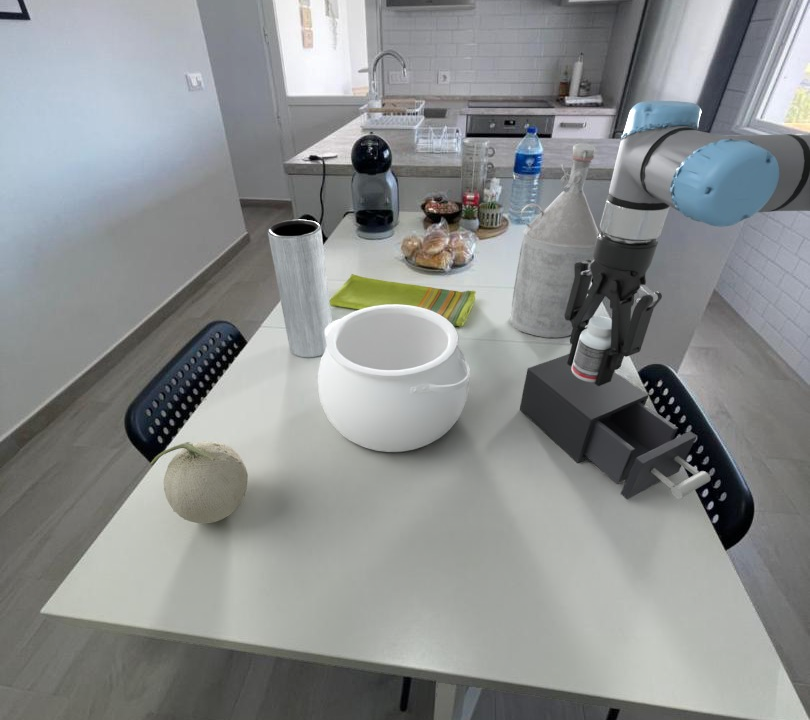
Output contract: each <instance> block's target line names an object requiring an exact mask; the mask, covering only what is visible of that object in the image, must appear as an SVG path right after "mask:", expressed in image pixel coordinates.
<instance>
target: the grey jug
mask: <svg viewBox="0 0 810 720" xmlns="http://www.w3.org/2000/svg"><path fill="white" fill-rule="evenodd" d="M595 152H596V147H595V146H593V145H592V144H587V143H576V144H574V145H573V146H572V155H571V168H570V173H569V171H567V170H566V169H565V165H564V164H563V163H561V164H560V167H561V170H562V171H563V174H564V175H563V176H562V177H561V178H560V181H559V182H560V184H561V186H562V187H563V188H562V191H561V193H560V194H559V195H557V196H556V198H554V200H553V201H552V202H551V203H550V204H549V205H548V206H547V207H546V208H545V209H544V210H542V208H541V206H540V205H539V204H538V203H536V202H535V203H534V202H531V203H528V204H526V205H525V206H524V207H522V209H521V211H520V216H523V213H524V211H525V210H526V209H528V208H529V207H535V208H537V209H538V210H539V211H540V212H539V214H538V215H537V216H536V218H535V219H534V220H533V221H532V222H530V223H527V222H525V221H524V220H523V219H522V217H520V222H521V223H523V224H524V225H525V226H526V228H525V229H524V230H523V233H522V234H523V236H522V241H521V247H520V251H519V257H518V264H517V269H516V275H515V281H514V286H513V294H512V302H511V309H510V316H509V322H510V323H511V325H512V326H513V327H514V328H515V329H517V330H518V331H520V332H523V333H524V334H527V335H528V334H529V335H531V336H536V337H542V338H546V339H548V338H549V339H550V338H556V339H558V338H565V337H569V336H571V333H572V329H573V327H572V323H571V322H570V321H569V320H568V321H567V320H566V319H565V317H564V316H565V312H566V308H567V304H568V300H569V297H570V293H571V289H572V285H573V282H574V278H575V271H574V266H575V263H578V262H582V261H586V260H591V261H593V260H594V258H593V252H594V248H595V244H596V240H597V236H598V234H599V233H600V231H599V229H598V226H597V224H596V221H595V219H594V216H593V214H592V211H591V208H590V205H589V202H588V200H587V197H586V194H585V192H584V185H585V182H586V179H587V175H588V172H589V168H590V165H591V163H592V160H594V158H595V155H594V154H595ZM566 171H567V172H566ZM565 184H566V185H565ZM592 280H593V277H592V278H591V282H590V286H589V289H590V287H591V285H592ZM589 289H588V290H589ZM587 296H588V294H587ZM587 296H586V298H587Z"/></svg>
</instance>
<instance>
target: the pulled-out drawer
mask: <svg viewBox="0 0 810 720" xmlns="http://www.w3.org/2000/svg"><path fill="white" fill-rule="evenodd" d="M678 429H679V427H677V426H676V425H674V424H673V423H672V422H670V421H669V420H668V419H666V418H664V417H663V416H661V415H660V414H659V413H658V412H656V411H655V410H653V409H652V408H650V407H649V406H647V405H646V404H645V405H644V404H643V403H641V402H638V403H636V404H634V405H631V406H629V407H627V408H624V409H622V410H620V411H617V412H615V413H613V414H611V415H608V416H606V417H604V418H601V419H599V420H597V421H595V422H594V423H593V426H592V429H591V432H590V435H589V438H588V441H587V444H586V447H585V450H584V453H583V454H584V455H585V456H586V457H587V459H588V460H590V461H591V462H592V463H593V464H594V465H595V466H596V467H597V468H599V469H600V470H601V471H602V473H604V474H605V475H606V476H607V477H608V478H609V479H610V480H612V481H613V482H614V483H615V484H616V485H619V484H621V483H622V482H625V483H624V485H623V487H622V490H621V492H620V495H621V496H622V497H623V498H624V499H626V500H629V499H632V498H633V497H635V496H636V495H639V494H640V493H643V492H644V491H646V490H648V489H650V488H651V487H653V486H655V485H656V484H658V483H661V482H662V483H663V484H665V485H666V486H667V487H668V488H669V489H670V492H671V494H672V495H673V496H674V498H676V499H682V498H683V497H685V496H687V495H689V494H690V493H692V492H694V491H696V490H697V489H700V487H702V486H704V485H706V484H707V483H709V482H710V481H711V475H710V474H709V472H706V471H704V470H701V471H699V470H698V469H697V468H695V467H694V466H692V464H689V463H688V462H687V461H686V458H687V456H688V455H689V453H690V451H691V450H692V449H691V448H692V447H693V445H694V443H695V441H696V439H697V437H698V436H697V435H696V434H695V433H693V432H692V431H690V430H689V431H687V432H685V433H683V434H681V435H679V436H677V437H675V436H676V434H677V431H678ZM682 467H683V468H684V469H686V470H687V471H688V472H689V473H690V474H692V476H690V477H688V478H686V479H684V480H682V481H680V482H679V483H676V484H675V483H674V482H673V481H671V480H670V479H669V477H671V476H673V475H675V474H677V473H678V472H680V469H681V468H682Z"/></svg>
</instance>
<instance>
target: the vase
mask: <svg viewBox="0 0 810 720" xmlns="http://www.w3.org/2000/svg"><path fill="white" fill-rule="evenodd" d="M267 235H268V242H269V246H270V252H271V258H272V263H273V267H274V268H273V269H274V272H275V273H274V274H275V278H276V283H277V288H278V294H279V300H280V305H281V311H282V315H283V321H284V326H285V331H286V336H287V342H288V346H289V347H288V348H289V350H290V351H291V353H292V355H293V354H294V355H295V356H297V357H301V358H317V357H322V356H323V354H324V352H325V348H326V347H327V344H326V339H325V333H324V330H325V328H326V327H327V326H328V325H329V324H330V323H331V322H333V318H332V310H331V305H330V293H329V292H330V291H329V285H328V283H329V282H328V277H327V276H328V275H327V268H326V259H325V250H324V241H323V233H322V226H321V225H320V224H319V223H318V222H316V221H313V220H307V219H292V220H290V219H289V220H284V221H281V222H277V223H275V224H273V225H271V226H270V227H269V228H268V229H267Z"/></svg>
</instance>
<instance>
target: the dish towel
mask: <svg viewBox="0 0 810 720" xmlns="http://www.w3.org/2000/svg"><path fill="white" fill-rule="evenodd" d="M476 292H477V291H476V290H464V291H460V290H453V289H445V288H438V287H432V286H425V285H420V284H419V285H418V284H413V283H403V282H396V281H389V280H382V279H376V278H370V277H364V276H361V275H357V274H353V273H351V274H350V277H349V278H348V279H347V280H346V281H345V282H344V283H343V285H342V286H341V287H340V288H339V289H338V290H337V291H336V292H335V293H333V295H332V296H331V297H330V298H329V300H330V306H334V307H340V308H348V309H352V310H357V311H358V310H361V309H364V308H368V307H373V306H379V305H395V304H398V305H410V306H416V307H421V308H424V309H428V310H431V311H433V312H435V313H437V314H439V315H441V316H443V317H444V318H446V319H447V320H448V321H449V322H450V323H451V324H452V325H453V326H454V327H456V326H457V327H460V328H462V327H463V326H464V325H465V323H466V321H467V319H468V317H469V315H470V312H471V310H472V309H473V306H474V304H475V302H476Z"/></svg>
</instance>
